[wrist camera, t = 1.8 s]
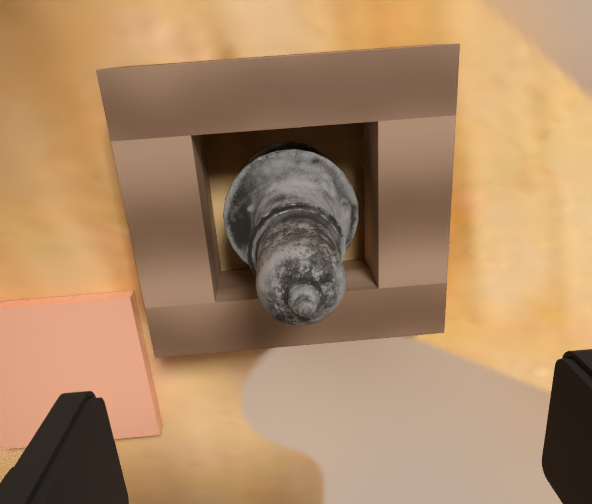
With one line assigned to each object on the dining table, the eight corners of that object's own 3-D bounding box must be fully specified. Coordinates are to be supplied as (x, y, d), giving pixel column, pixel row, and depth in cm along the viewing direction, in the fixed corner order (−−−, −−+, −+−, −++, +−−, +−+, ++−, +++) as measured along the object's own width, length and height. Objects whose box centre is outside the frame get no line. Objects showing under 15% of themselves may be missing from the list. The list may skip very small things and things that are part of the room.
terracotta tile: (-40, 305, 26) (-48, 312, 25) (133, 290, 26) (129, 297, 26) (9, 439, 30) (3, 449, 29) (162, 425, 30) (159, 434, 29)
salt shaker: (370, 198, 25) (452, 316, 14) (284, 271, 26) (297, 432, 15) (292, 109, 23) (316, 164, 12) (204, 192, 25) (152, 310, 14)
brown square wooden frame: (120, 66, 22) (96, 69, 19) (431, 44, 23) (459, 43, 19) (168, 321, 27) (155, 358, 24) (423, 299, 28) (444, 332, 24)
